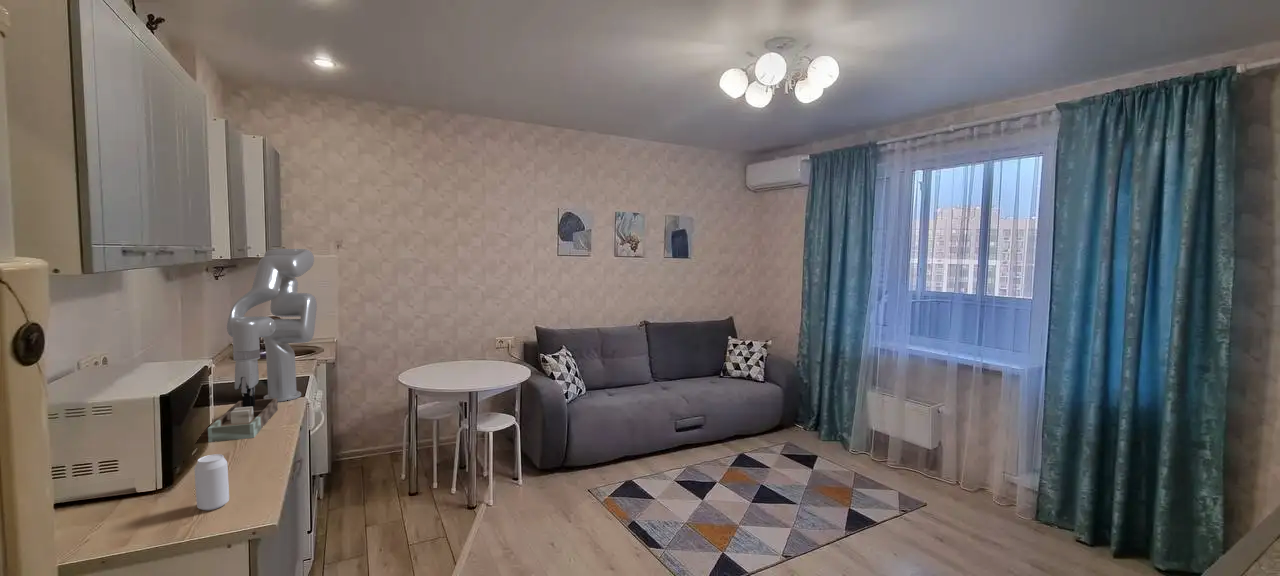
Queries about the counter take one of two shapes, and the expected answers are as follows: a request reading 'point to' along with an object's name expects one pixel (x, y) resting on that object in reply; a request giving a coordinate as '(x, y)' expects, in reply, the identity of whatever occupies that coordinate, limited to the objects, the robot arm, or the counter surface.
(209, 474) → the beverage can
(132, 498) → the counter surface
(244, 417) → the block
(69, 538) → the counter surface
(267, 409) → the box
